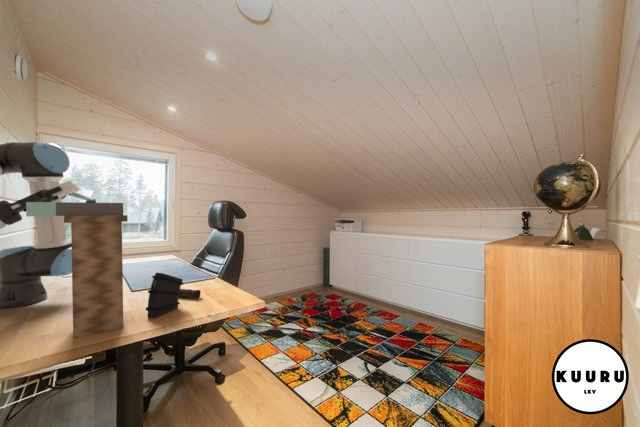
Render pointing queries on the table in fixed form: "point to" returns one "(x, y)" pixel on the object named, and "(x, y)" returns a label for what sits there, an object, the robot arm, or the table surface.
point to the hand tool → (189, 293)
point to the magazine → (163, 295)
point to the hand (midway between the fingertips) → (75, 185)
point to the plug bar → (72, 209)
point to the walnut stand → (96, 273)
